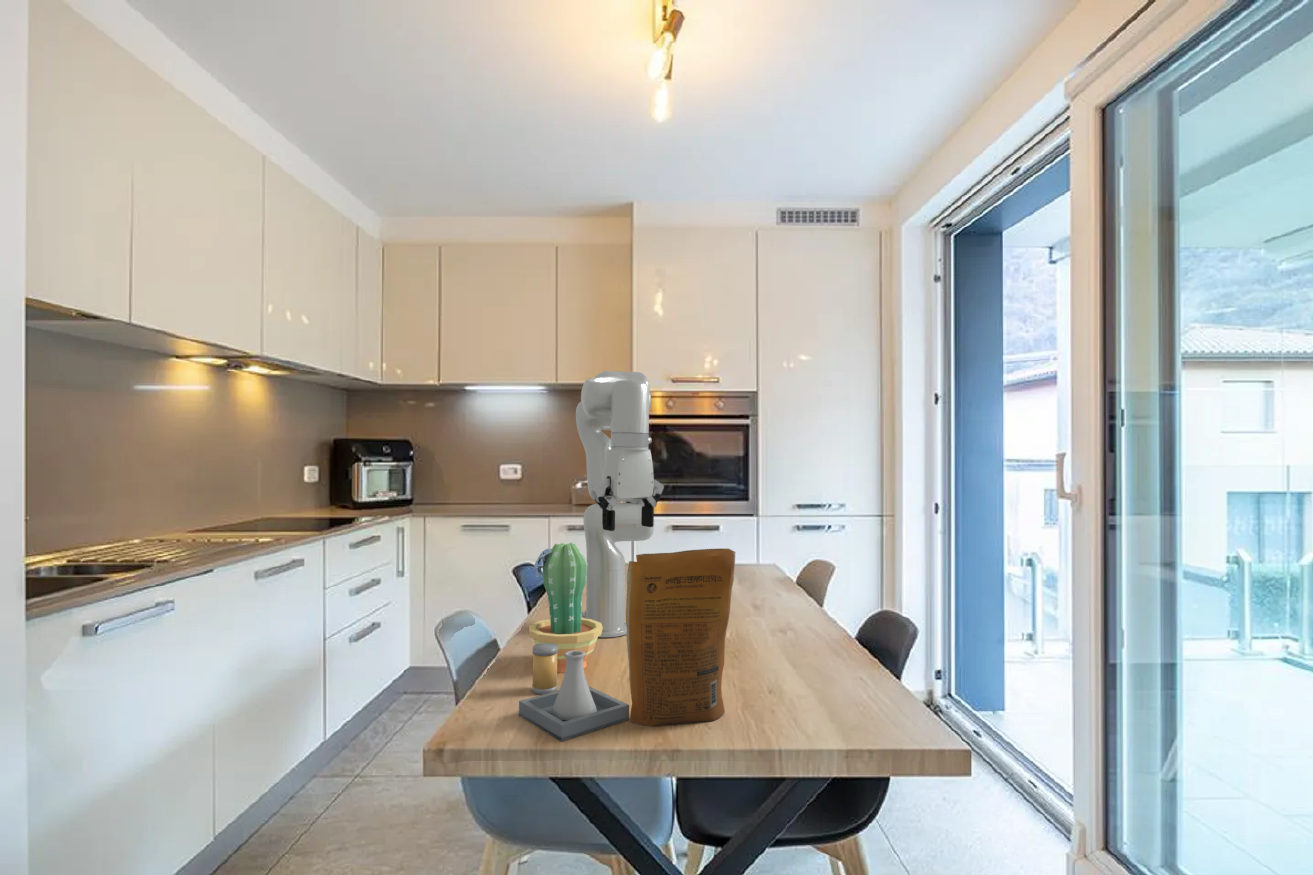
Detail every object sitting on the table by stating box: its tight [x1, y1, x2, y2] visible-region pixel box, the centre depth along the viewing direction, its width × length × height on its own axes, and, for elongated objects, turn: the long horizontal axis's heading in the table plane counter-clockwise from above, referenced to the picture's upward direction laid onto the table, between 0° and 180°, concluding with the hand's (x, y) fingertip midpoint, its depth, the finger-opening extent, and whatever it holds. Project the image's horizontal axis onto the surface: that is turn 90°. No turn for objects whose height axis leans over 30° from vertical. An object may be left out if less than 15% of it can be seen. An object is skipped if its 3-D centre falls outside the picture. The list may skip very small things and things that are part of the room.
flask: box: [551, 650, 597, 721], centre depth 108 cm, size 7×7×10 cm
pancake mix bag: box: [625, 548, 736, 727], centre depth 108 cm, size 7×19×28 cm, turn 104°
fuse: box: [531, 643, 558, 696], centre depth 121 cm, size 5×5×8 cm
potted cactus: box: [528, 542, 603, 673], centre depth 136 cm, size 15×15×25 cm
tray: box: [518, 685, 630, 743], centre depth 108 cm, size 13×13×2 cm
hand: (628, 528), depth 131 cm, fingers open, 9 cm apart
